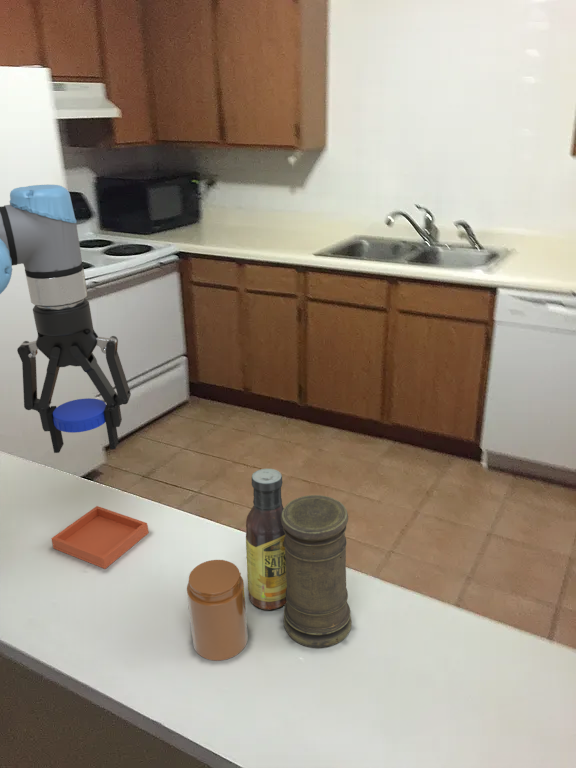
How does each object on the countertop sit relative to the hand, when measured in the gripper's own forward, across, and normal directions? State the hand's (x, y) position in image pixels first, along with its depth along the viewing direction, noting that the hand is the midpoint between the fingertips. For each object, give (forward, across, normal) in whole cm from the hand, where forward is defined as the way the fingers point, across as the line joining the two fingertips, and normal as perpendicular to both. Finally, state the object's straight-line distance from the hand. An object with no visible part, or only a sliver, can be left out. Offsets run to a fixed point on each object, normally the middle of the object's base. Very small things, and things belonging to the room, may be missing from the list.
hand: (86, 446), depth 101 cm
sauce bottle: (+18, -27, +16) cm, 36 cm away
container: (+18, -33, +22) cm, 43 cm away
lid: (-6, 0, 0) cm, 6 cm away
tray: (+18, 0, 0) cm, 18 cm away
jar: (+18, -20, +23) cm, 35 cm away
